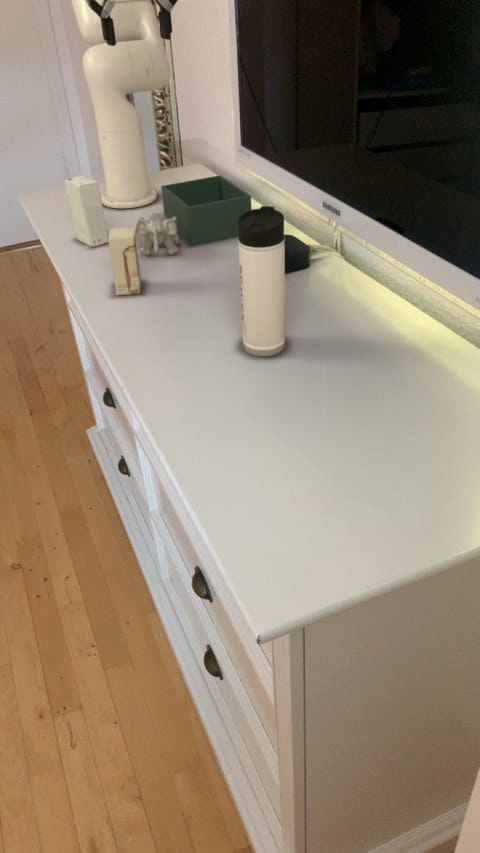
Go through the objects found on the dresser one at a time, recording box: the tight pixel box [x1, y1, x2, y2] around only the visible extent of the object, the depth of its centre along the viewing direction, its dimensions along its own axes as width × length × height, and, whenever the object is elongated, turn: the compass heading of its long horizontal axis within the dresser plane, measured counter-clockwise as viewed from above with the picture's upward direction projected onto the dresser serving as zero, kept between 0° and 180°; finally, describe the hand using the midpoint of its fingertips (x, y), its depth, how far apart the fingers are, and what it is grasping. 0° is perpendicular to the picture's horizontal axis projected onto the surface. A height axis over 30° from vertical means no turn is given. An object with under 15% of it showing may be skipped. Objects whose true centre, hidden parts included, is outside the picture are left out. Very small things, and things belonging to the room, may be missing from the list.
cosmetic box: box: [64, 175, 109, 248], centre depth 137 cm, size 6×4×12 cm
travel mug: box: [237, 205, 286, 357], centre depth 98 cm, size 6×7×20 cm
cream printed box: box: [107, 227, 142, 296], centre depth 119 cm, size 5×4×10 cm
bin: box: [160, 174, 252, 247], centre depth 142 cm, size 15×13×8 cm
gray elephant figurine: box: [135, 212, 181, 256], centre depth 131 cm, size 9×12×8 cm
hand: (139, 41), depth 118 cm, fingers open, 9 cm apart
